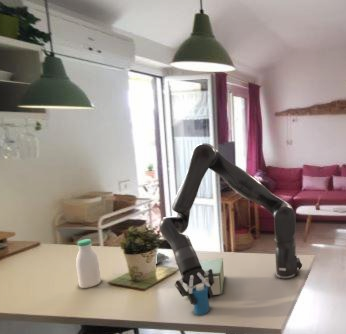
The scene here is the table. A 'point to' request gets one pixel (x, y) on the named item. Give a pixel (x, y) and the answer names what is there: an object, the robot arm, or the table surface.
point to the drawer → (215, 286)
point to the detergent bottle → (201, 299)
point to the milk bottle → (87, 265)
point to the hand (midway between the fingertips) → (203, 300)
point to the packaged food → (161, 257)
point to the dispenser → (214, 269)
